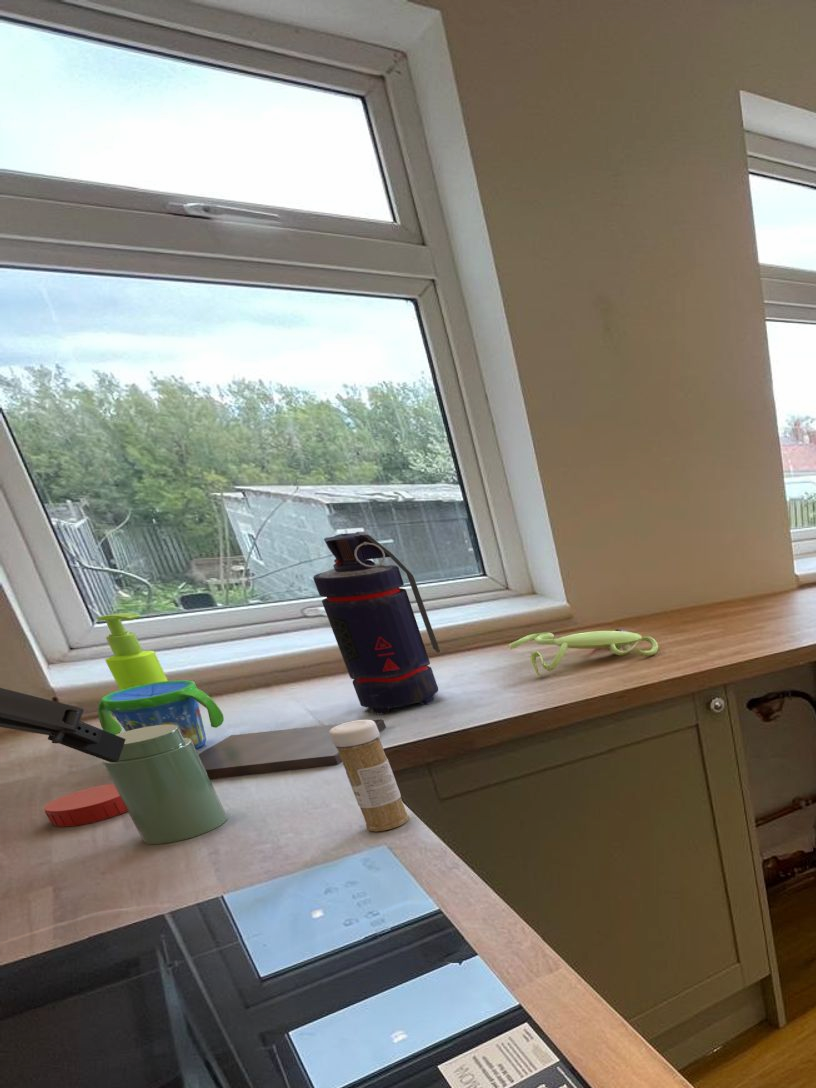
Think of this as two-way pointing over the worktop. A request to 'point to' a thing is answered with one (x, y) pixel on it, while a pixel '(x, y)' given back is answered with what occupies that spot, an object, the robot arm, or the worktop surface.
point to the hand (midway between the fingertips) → (52, 755)
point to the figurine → (587, 644)
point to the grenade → (376, 624)
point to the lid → (85, 806)
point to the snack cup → (160, 709)
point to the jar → (165, 785)
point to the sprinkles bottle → (369, 774)
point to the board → (273, 751)
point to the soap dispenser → (130, 655)
